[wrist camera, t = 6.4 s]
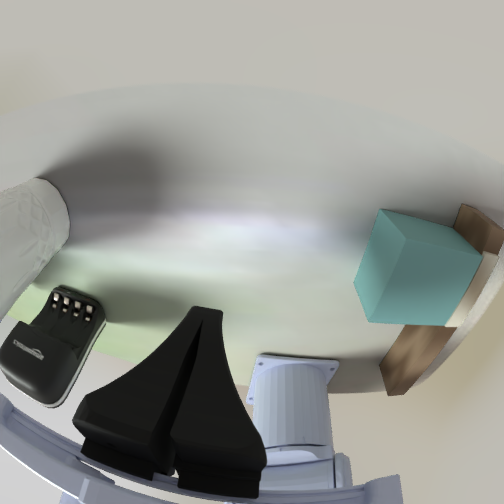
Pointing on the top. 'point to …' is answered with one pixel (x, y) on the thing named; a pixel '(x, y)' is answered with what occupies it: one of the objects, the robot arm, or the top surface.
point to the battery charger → (52, 347)
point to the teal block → (414, 271)
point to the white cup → (28, 235)
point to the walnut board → (435, 337)
